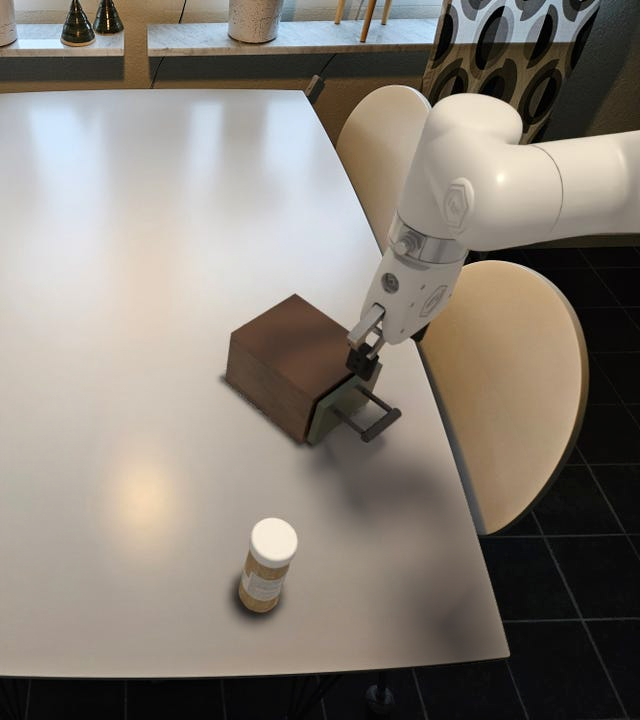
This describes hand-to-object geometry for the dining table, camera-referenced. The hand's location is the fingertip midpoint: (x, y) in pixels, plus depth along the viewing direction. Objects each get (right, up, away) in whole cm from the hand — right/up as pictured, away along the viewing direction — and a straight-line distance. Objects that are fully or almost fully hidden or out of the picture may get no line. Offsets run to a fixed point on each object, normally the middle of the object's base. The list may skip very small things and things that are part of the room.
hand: (384, 353), depth 74 cm
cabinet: (-7, -5, +18) cm, 20 cm away
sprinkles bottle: (-15, -27, -2) cm, 31 cm away
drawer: (-4, -7, +15) cm, 17 cm away
